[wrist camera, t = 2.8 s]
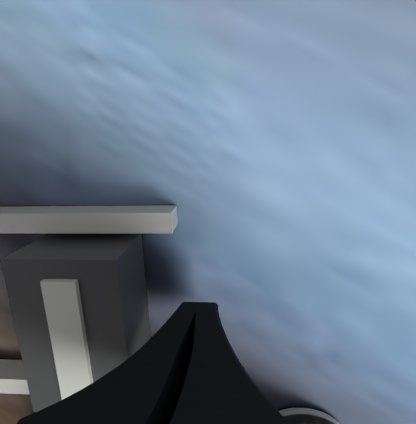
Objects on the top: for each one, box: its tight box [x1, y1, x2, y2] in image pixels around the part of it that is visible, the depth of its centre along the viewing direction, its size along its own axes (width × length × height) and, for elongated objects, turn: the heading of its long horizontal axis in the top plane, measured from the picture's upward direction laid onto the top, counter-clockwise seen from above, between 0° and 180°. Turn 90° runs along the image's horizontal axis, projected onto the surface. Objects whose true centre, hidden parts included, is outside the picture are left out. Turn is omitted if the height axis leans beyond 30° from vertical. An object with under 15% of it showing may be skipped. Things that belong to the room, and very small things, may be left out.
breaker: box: [0, 233, 151, 412], centre depth 12 cm, size 6×4×3 cm, turn 2°
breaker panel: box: [0, 205, 178, 394], centre depth 14 cm, size 16×14×2 cm
